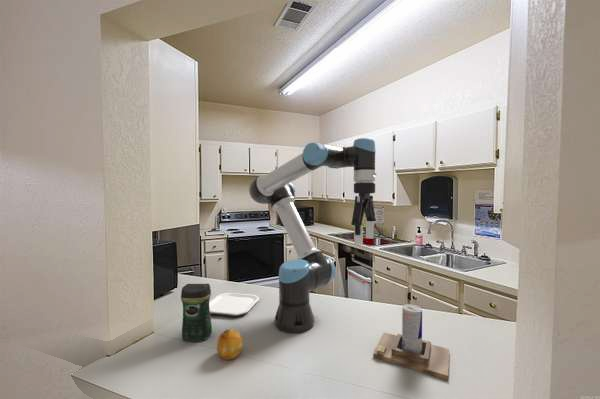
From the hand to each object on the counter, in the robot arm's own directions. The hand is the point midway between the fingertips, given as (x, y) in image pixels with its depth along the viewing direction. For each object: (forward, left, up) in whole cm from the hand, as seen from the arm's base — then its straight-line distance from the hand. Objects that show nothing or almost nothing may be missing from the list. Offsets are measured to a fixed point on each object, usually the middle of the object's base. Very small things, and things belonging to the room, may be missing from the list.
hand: (364, 241), depth 96 cm
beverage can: (+17, -7, -33) cm, 38 cm away
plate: (-57, -9, -33) cm, 67 cm away
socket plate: (+17, -7, -33) cm, 38 cm away
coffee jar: (-50, -33, -33) cm, 68 cm away
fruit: (-32, -35, -33) cm, 58 cm away
